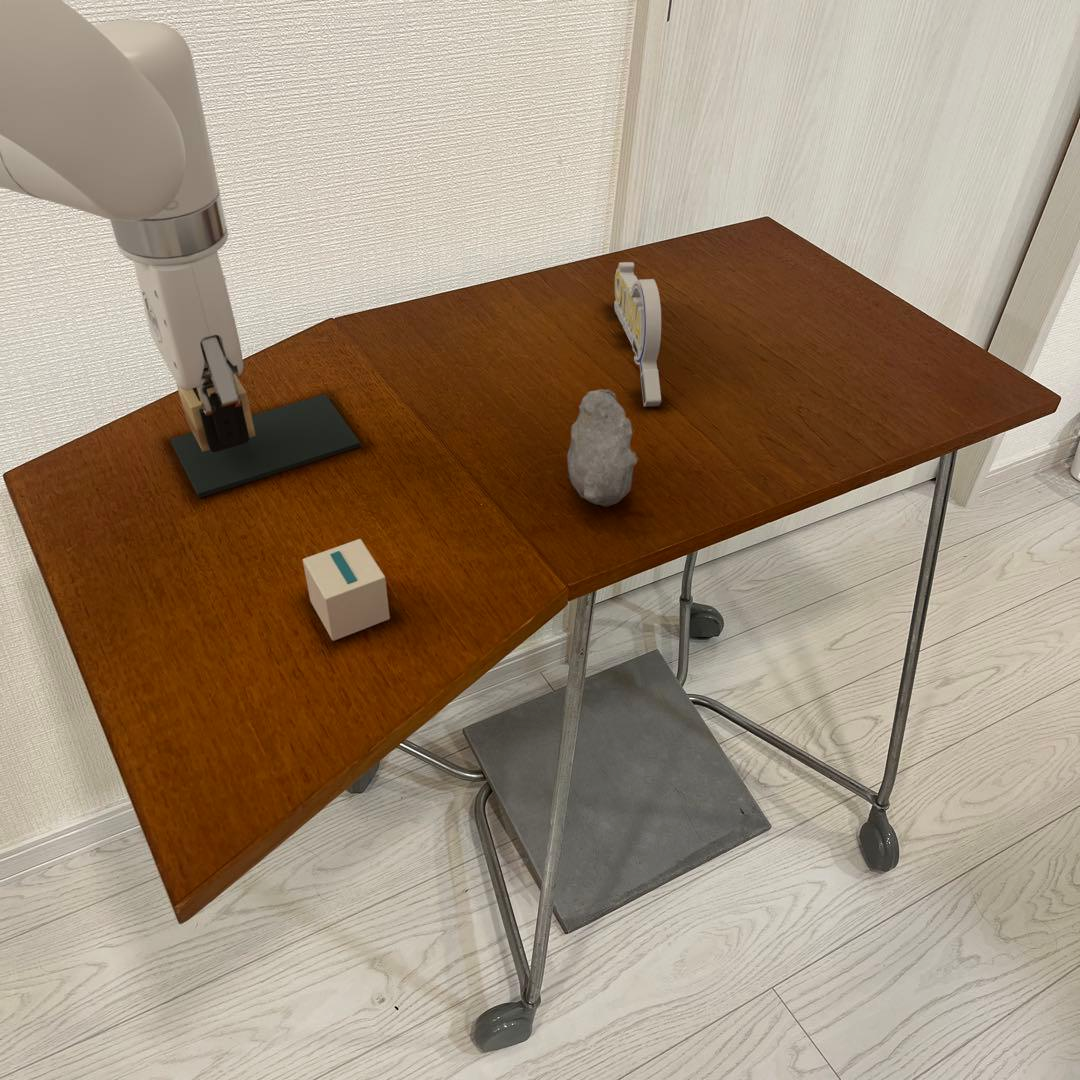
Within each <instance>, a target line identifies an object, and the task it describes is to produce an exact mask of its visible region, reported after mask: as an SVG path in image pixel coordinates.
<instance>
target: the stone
mask: <svg viewBox="0 0 1080 1080" xmlns="http://www.w3.org/2000/svg"><path fill="white" fill-rule="evenodd" d="M578 409H579V414H578V416H577V418H576V421H575V422H574V423H573V424H572V425H571V429H570V443H569V444H570V445H569V448H568V450H567V453H566V460H567V461H566V462H567V471H568V476H569V479H570V480H569V481H570V483H571V485H572V486H573V488H574V489H575V490H576V491H577V493H578V494H579V497H580V498H582V499H585V500H586V501H588V502H590V503H593V504H594V505H596V506H601V507H605V508H607V507H610V506H613V505H616V504H618V503H619V502H620V501H621V500H622V499H624V497H626V496H627V495H628V494H629V493H630V491H631V488H632V483H633V473H634V467H635V466H636V464H637V463H638V460H639V458H638V456H637V455H636V453H635V452H634V451H632V449H631V440H632V437H633V428H632V422H631V420H630V418H627V417H626V412H625V409H624V408H623V406H622V405H620V403H619V402H618V401H617V395H616V393H615V392H613V391H612V390H610V389H597V390H590V391H588V392H587V393H586V394H585V395H584V396H583V397H582V399H581V402H580V405H578Z"/></svg>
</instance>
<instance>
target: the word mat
mask: <svg viewBox="0 0 1080 1080" xmlns="http://www.w3.org/2000/svg"><path fill="white" fill-rule="evenodd" d="M251 416H252V421H253V426H254V430H255V436H254V437H250V438H249V441H248V442H247V443H244V444H241V445H238V446H234V447H231V448H228V449H225V450H221V451H218V452H212V451H211V450H207V451H204V452H203V451H202V450H201V448H200V446H199V444H198V442H197V440H196V438H195V436H194V435H193V433H192V432H190V433H186V434H183V435H180V436H177V437H173V438H170V439H169V441H170V443H171V446H172V448H173V450H174V451H175V454H176V456H177V457H178V460H179V462H180V463H181V466H182V468H183V469H184V471H185V473H186V476H187V478H188V480H189V482H190V483H191V485H192V487H193V490H194V492H195V494H196V495H197V498H198V499H200V498H204V497H207V496H211V495H213V494H217V493H220V492H223V491H226V490H229V489H232V488H235V487H239V486H242V485H245V484H248V483H253V482H255V481H257V480H261V479H264V478H267V477H270V476H274V475H277V474H280V473H283V472H286V471H289V470H292V469H295V468H299V467H302V466H306V465H308V464H311V463H315V462H318V461H320V460H325V459H327V458H331V457H334V456H336V455H340V454H343V453H346V452H349V451H353V450H356V449H359V448H361V442H360V440H359V439H358V438H357V436H356V435H355V434H354V432H353V431H352V429H351V428H350V426H349V425H348V424H347V422H346V421H345V419H344V418H343V416H342V415H341V413H340V412H339V411H338V409H337V408H336V407H335V405H334V404H333V402H332V401H331V399H330V398H329V397H328V396H327V394H326V393H324V394H320V395H317V396H313V397H309V398H307V399H304V400H300V401H296V402H293V403H290V404H285V405H283V406H279V407H276V408H272V409H269V410H266V411H262V412H259V413H255V414H251Z"/></svg>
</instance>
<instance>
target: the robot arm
mask: <svg viewBox="0 0 1080 1080" xmlns="http://www.w3.org/2000/svg"><path fill="white" fill-rule="evenodd" d="M201 97H202V96H201V93H200V87H199V83H198V78H197V73H196V67H195V62H194V59H193V55H192V52H191V49H190V47H189V45H188V43H187V41H186V40H185V38H184V37H183V35H181V34H180V32H178V31H177V30H176V29H174V28H173V27H171V26H169V25H167V24H164V23H162V22H158V21H152V20H145V19H118V20H110V21H104V22H100V23H97V24H94V25H93V23H91V22H90V21H89V20H87V18H85V17H84V16H83V15H82V14H80V13H79V12H78V11H77V10H75V9H74V8H73V7H72V6H70V5H69V4H68V3H66V2H65V1H64V0H0V188H3V189H6V190H9V191H11V192H15V193H19V194H22V195H25V196H29V197H32V198H35V199H40V200H43V201H48V202H50V203H55V204H58V205H60V206H61V205H62V206H65V207H68V208H72V209H74V210H78V211H81V212H83V213H84V212H85V213H88V214H91V215H94V216H98V217H100V218H103V219H107V220H109V221H110V225H111V227H112V231H113V235H114V238H115V241H116V245H117V249H118V251H119V253H120V254H121V255H122V256H123V257H124V258H127V259H129V260H130V261H132V262H133V266H134V270H135V274H136V278H137V283H138V287H139V290H140V295H141V298H142V304H143V307H144V312H145V316H146V320H147V325H148V328H149V332H150V335H151V337H152V340H153V342H154V344H155V346H156V348H157V350H158V351H159V354H160V355H161V358H162V360H163V361H164V363H165V365H166V367H167V368H168V370H169V373H170V374H171V375H172V378H173V379H174V381H175V382H176V383H177V384H178V385H179V386H180V387H181V388H183V389H184V390H187V391H189V390H191V389H192V388H196V387H197V391H198V394H199V397H200V401H201V404H202V407H203V409H200V410H199V412H200V416H201V420H202V423H203V427H204V431H205V435H206V439H207V443H208V446H209V448H210V450H211V451H212V452H218V451H221V450H225V449H228V448H231V447H234V446H238V445H241V444H244V443H247V442H248V441H249V434H248V429H247V425H246V420H245V416H244V411H243V407H242V402H241V400H240V398H239V394H238V390H237V387H236V383H235V379H234V376H233V374H235V375H236V376H237V378H239V377H240V376H241V375H242V373H243V371H244V360H243V353H242V348H241V343H240V338H239V332H238V329H237V324H236V320H235V315H234V312H233V307H232V303H231V300H230V295H229V291H228V287H227V284H226V282H227V281H226V276H225V275H224V271H223V268H222V265H221V264H222V263H221V260H220V259H221V258H220V256H219V252H218V251H219V250H220V249H221V248H222V247H224V246H225V245H226V242H227V241H228V239H229V229H228V225H227V220H226V215H225V212H224V206H223V201H222V196H221V191H220V187H219V181H218V175H217V171H216V167H215V162H214V157H213V152H212V148H211V147H212V146H211V143H210V137H209V133H208V128H207V123H206V117H205V113H204V108H203V103H202V98H201ZM206 370H208V372H204V373H203V371H206ZM176 383H175V384H176ZM212 383H213V385H214V388H215V393H211V394H210V396H208V393H207V389H206V386H205V385H208V384H212ZM177 384H176V385H177Z"/></svg>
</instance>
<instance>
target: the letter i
mask: <svg viewBox="0 0 1080 1080" xmlns="http://www.w3.org/2000/svg"><path fill="white" fill-rule="evenodd" d="M302 565H303V569H304V575H305V579H306V580H305V581H306V584H307V591H308V596H309V601H310V603H311V606H313V609H314V610H315V612H316V614H317V616H318V617H319V619H320V621H321V623H322V625H323V626H324V629H325V630H326V632H327V633H328V635H329V638H330V639H331V641H332V642H334V641H335V642H336V641H337V640H340V639H342V638H345V637H347V636H349V635H350V636H351V635H352V634H355V633H357V632H360V631H363V630H366V629H367V628H370V627H373V626H376V625H378V624H380V623H383V622H386V621H389V620H390V619H391V617H390V608H389V597H388V590H387V589H388V588H387V582H386V576H385V574H384V573H383V571H382V570H381V568H380V566H379V565H378V562H376V560H375V559H374V558H373V555H372V554H371V552H370V551H369V549H368V548H367V546H366V545H365V543H364V541H363V540H362V539H361V538H358V539H355V540H352V541H350V542H347V543H344V544H341V545H339V546H335V547H332V548H329V549H327V550H324V551H321V552H319V553H316V554H312V555H310V556H306V557H305V558H303V559H302Z"/></svg>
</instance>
